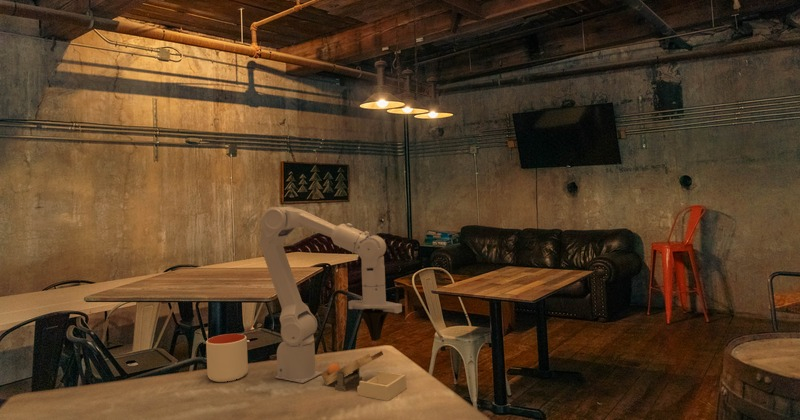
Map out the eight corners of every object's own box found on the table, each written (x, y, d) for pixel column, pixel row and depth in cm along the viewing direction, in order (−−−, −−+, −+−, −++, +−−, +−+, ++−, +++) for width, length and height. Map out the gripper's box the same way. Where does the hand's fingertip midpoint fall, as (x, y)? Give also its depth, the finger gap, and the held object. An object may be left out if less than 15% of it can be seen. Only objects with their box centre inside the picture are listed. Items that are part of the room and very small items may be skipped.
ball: (325, 377, 124) (324, 364, 124) (333, 373, 127) (332, 361, 127) (335, 378, 123) (334, 365, 123) (343, 374, 125) (341, 362, 125)
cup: (235, 384, 126) (234, 344, 126) (199, 382, 128) (198, 343, 128) (255, 370, 136) (253, 333, 136) (221, 369, 138) (219, 333, 138)
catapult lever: (326, 385, 123) (321, 374, 124) (350, 372, 132) (345, 361, 132) (360, 366, 118) (355, 354, 118) (383, 354, 126) (378, 343, 127)
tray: (357, 395, 116) (357, 381, 116) (376, 383, 124) (376, 370, 123) (388, 400, 112) (387, 386, 112) (406, 388, 119) (405, 374, 119)
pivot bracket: (335, 389, 120) (334, 372, 120) (352, 379, 126) (351, 363, 126) (345, 391, 119) (344, 374, 119) (362, 381, 125) (361, 365, 125)
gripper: (340, 286, 125) (342, 340, 126) (390, 289, 118) (392, 347, 118) (356, 281, 132) (358, 333, 132) (405, 284, 124) (407, 339, 125)
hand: (375, 339), depth 126 cm, fingers closed
